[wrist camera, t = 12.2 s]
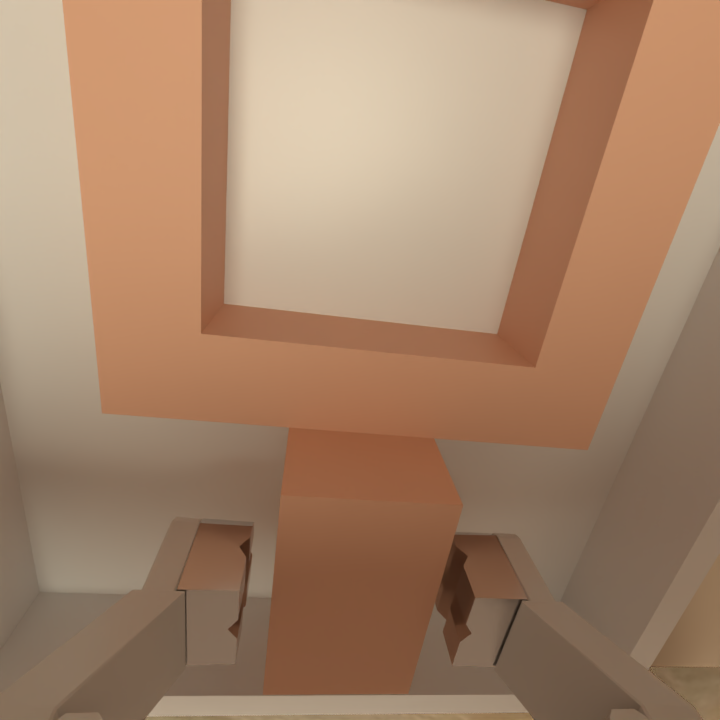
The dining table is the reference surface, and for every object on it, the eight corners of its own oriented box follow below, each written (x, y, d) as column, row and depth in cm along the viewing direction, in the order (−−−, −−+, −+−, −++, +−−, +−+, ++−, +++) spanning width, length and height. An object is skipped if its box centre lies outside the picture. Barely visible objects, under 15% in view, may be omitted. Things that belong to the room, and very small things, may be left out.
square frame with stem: (716, -95, 8) (1091, -354, 4) (494, 549, 13) (562, 692, 9) (107, -260, 6) (-199, -892, 3) (150, 535, 12) (74, 696, 8)
